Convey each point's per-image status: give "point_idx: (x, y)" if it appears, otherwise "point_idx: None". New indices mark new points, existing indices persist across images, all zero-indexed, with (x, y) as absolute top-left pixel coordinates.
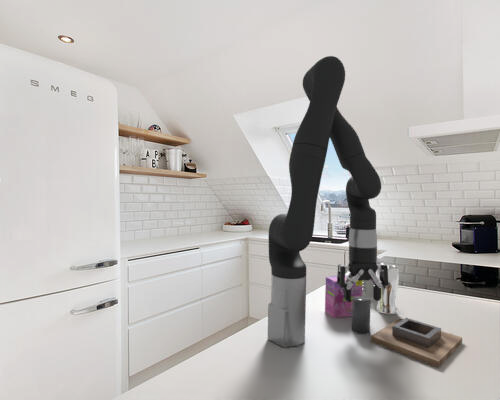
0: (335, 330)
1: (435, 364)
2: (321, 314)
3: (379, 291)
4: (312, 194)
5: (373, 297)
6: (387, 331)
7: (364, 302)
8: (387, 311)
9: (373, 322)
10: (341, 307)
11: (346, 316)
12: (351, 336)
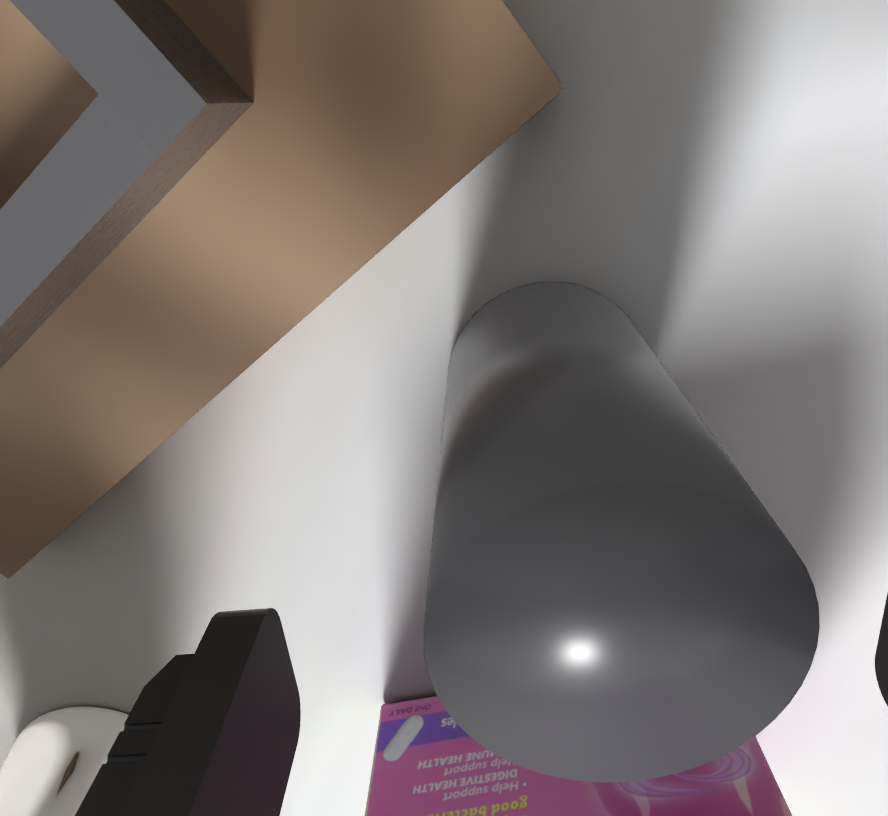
0: (853, 377)
1: None
2: (800, 721)
3: (132, 796)
4: None
5: (298, 734)
6: (277, 226)
7: (647, 478)
8: (98, 737)
9: (320, 558)
10: None
11: None
12: (737, 224)
